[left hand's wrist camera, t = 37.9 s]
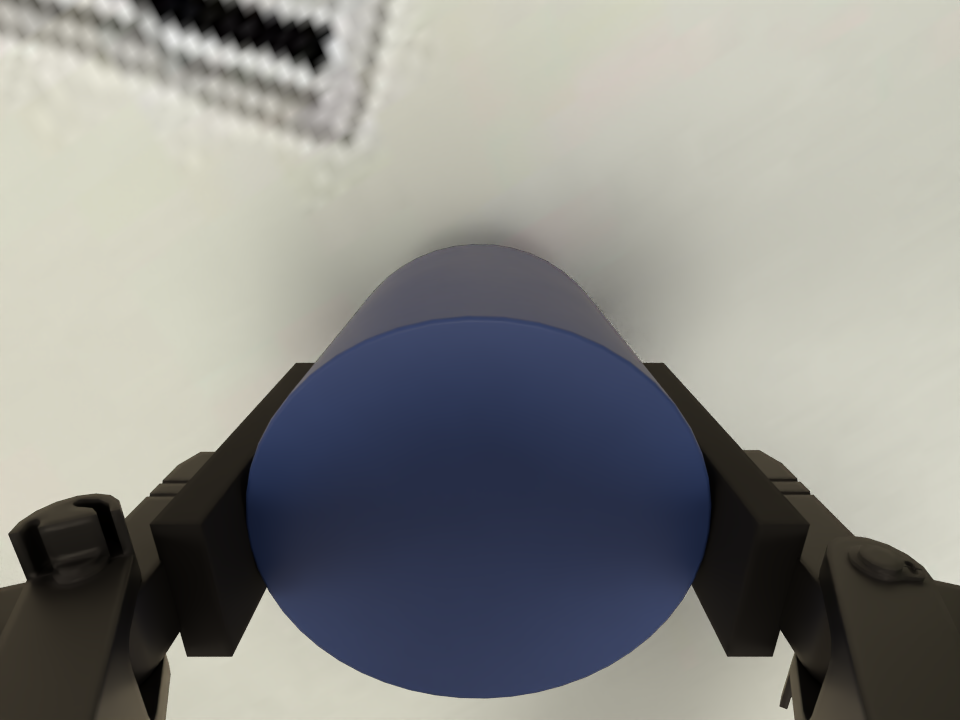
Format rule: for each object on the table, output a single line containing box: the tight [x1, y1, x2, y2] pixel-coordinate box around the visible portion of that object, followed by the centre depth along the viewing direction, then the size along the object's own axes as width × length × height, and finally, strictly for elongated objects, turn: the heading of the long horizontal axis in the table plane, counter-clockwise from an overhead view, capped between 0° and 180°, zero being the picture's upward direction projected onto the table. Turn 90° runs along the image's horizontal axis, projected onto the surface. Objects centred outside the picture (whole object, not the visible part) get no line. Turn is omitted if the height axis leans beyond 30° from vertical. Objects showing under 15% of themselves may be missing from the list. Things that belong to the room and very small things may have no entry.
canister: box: [246, 244, 711, 698], centre depth 13 cm, size 8×8×7 cm
